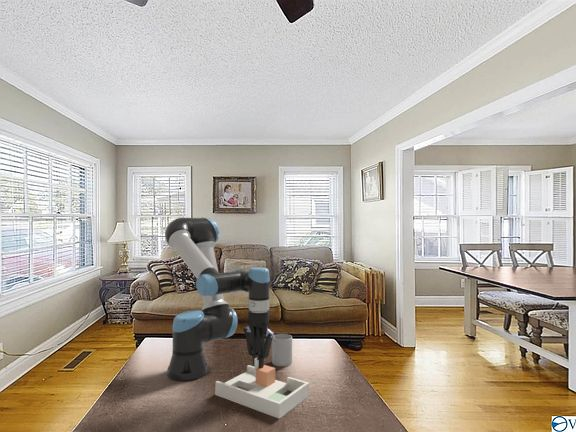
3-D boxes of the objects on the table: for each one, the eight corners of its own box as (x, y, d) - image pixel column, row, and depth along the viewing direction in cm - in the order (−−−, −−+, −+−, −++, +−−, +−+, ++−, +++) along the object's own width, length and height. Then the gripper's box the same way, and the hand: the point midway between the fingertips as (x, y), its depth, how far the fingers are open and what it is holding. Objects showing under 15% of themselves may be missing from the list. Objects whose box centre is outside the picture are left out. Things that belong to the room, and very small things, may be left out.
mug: (288, 367, 152) (289, 340, 152) (269, 365, 154) (269, 338, 154) (296, 357, 163) (296, 332, 163) (278, 355, 166) (278, 330, 166)
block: (255, 383, 131) (255, 369, 131) (264, 378, 135) (264, 364, 135) (266, 387, 128) (266, 372, 128) (275, 382, 132) (275, 368, 132)
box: (215, 394, 127) (215, 381, 127) (248, 376, 142) (248, 365, 142) (279, 418, 112) (279, 403, 112) (309, 395, 127) (309, 382, 127)
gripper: (238, 310, 134) (237, 375, 134) (267, 315, 127) (266, 384, 126) (251, 306, 140) (250, 368, 140) (279, 311, 133) (278, 376, 133)
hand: (258, 376), depth 133 cm, fingers closed
